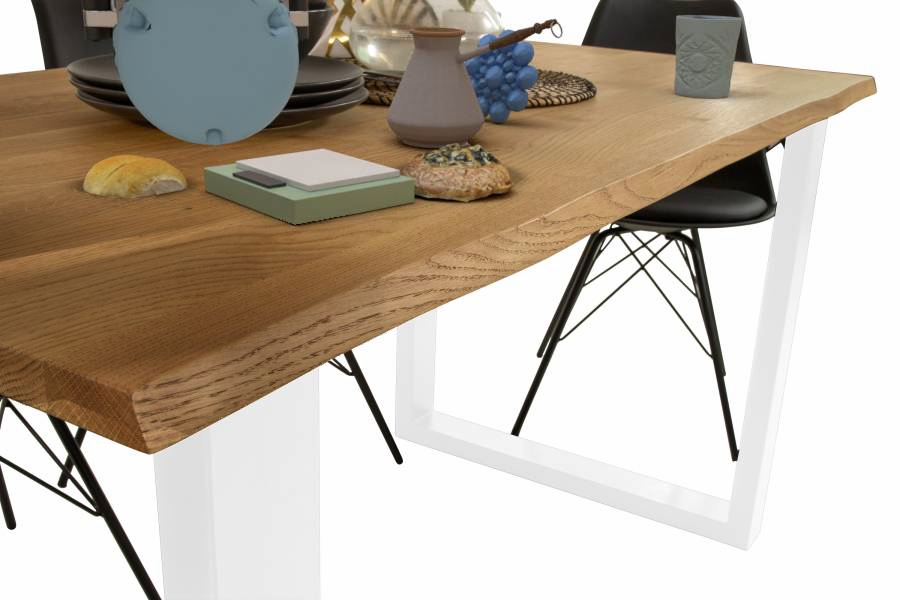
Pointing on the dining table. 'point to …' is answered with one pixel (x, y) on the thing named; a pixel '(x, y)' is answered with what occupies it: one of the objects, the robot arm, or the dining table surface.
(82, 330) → the dining table surface
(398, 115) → the coffee pot
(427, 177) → the bread roll
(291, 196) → the scale
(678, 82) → the grey embossed vase
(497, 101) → the grapes
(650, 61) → the dining table surface
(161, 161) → the bread roll
